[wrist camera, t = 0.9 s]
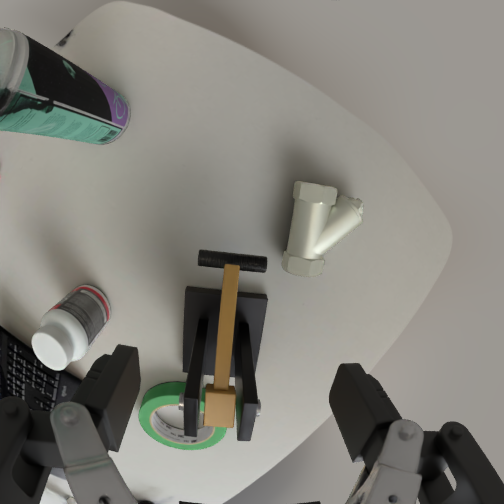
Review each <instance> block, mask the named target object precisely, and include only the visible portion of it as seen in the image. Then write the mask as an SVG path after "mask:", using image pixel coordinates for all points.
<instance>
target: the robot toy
mask: <svg viewBox="0 0 504 504" xmlns="http://www.w3.org/2000/svg"><path fill="white" fill-rule="evenodd" d="M67 504H77V503H76V500H75V499H74V498H72V497H69V499H67Z"/></svg>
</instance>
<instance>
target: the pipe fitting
mask: <svg viewBox="0 0 504 504" xmlns="http://www.w3.org/2000/svg"><path fill="white" fill-rule="evenodd" d="M337 191H338V190H337V189H336V188H335V187H330V186H325V185H320V184H314V183H308V182H302V181H296V182H295V185H294V191H293V198H294V199H295V204H294V210H293V216H292V222H291V228H290V234H289V240H288V246H287V250H285V251H284V253H283V258H282V267H283V269H284V270H285V271H287V272H289V273H291V274H294V275H298V276H303V277H316V276H319V275H321V274H322V271H323V266H324V261H325V260H324V259H323V257H322V256H323V255H324V254H325V253H326V252H328V251H329V250H330V249H331V248H333V247H334V246H335V245H336V244H338V243H339V242H340V241H341V240H343V239H344V238H345V237H346V236H348V235H349V234H350V233H351V232H352V231H354V230H355V229H356V228H357V227H359V226H360V225H361V224H362V223H363V219H362V216H361V215H362V214H363V209H362V207H363V206H364V204H363V202H362V201H361V200H360V199H359V198H357V199H354V198H349V199H348V198H347V197H345V196H342V195H341V196H339V197H338V198H337V199H336V197H337Z"/></svg>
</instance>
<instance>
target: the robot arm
mask: <svg viewBox="0 0 504 504" xmlns="http://www.w3.org/2000/svg"><path fill="white" fill-rule="evenodd" d="M140 382H141V377H140V367H139V356H138V349H137V347H131V346H126V345H121V344H118V345H117V347H116V348H115V350H114V352H113V353H112V355H107V354H104V355H103V356H101V357H100V358H98V359H97V360H95V362H94V363H93V365H92V367H91V368H90V370H89V371H88V373H87V375H86V377H85V378H84V379H83V381H82V383H81V384H80V386H79V388H78V389H77V391H76V393H75V394H74V396H73V398H72V399H71V401H70V402H64V403H61V404H59V405H57V406H56V407H54V408H53V410H52V411H51V412H47V411H36V410H30V409H29V407H28V405H27V403H26V402H25V401H24V400H23V399H21V398H19V397H6V398H4V399H2V400H0V504H39V503H40V500H41V497H42V494H43V491H44V488H45V485H46V483H47V480H48V477H49V474H50V472H51V469H52V467H55V468H63V469H64V473H65V476H66V479H67V481H68V484H69V486H70V489H71V491H72V493H73V496H74V498H75V500H76V503H77V504H138V503H137V501H136V499H135V498H134V496H133V495H132V493H131V491H130V490H129V488H128V487H127V485H126V483H125V481H124V480H123V478H122V476H121V475H120V473H119V471H118V469H117V467H116V465H115V464H114V462H113V460H112V458H111V457H109V455H108V451H109V450H111V451H115V452H118V451H119V448H120V445H121V442H122V439H123V436H124V433H125V430H126V427H127V424H128V421H129V418H130V416H131V413H132V410H133V407H134V404H135V402H136V399H137V396H138V393H139V390H140ZM387 396H388V395H387V394H386V392H385V391H383V388H382V386H381V385H380V383H379V382H378V380H376V379H375V378H373V377H372V376H371V375H370V374H366V373H365V371H364V370H363V368H362V366H361V365H360V364H359V363H343V364H340V366H339V367H338V370H337V373H336V376H335V379H334V382H333V384H332V387H331V390H330V393H329V403H330V407H331V409H332V412H333V414H334V417H335V419H336V422H337V424H338V427H339V429H340V431H341V434H342V437H343V439H344V442H345V444H346V447H347V449H348V452H349V454H350V457H351V459H352V462H353V463H354V462H360V461H364V463H365V466H364V468H363V469H362V471H361V473H360V475H359V478H358V480H357V482H356V484H355V486H354V488H353V490H352V492H351V494H350V496H349V498H348V500H347V502H346V503H345V504H416V500H417V497H418V499H419V502H420V504H504V484H503V482H502V480H501V479H500V477H499V476H498V474H497V472H496V471H495V469H494V468H493V466H492V465H491V463H490V462H489V460H488V459H487V457H486V455H485V454H484V453H483V451H482V450H481V448H480V447H479V445H478V444H477V442H476V441H475V439H474V438H473V436H472V435H471V433H470V432H469V431H468V429H467V428H466V427H465V426H464V425H462V424H460V423H458V422H447V423H445V424H444V425H443V426H442V428H441V429H440V431H437V432H436V431H423V430H422V428H421V427H420V426H419V425H418V424H417V423H415V422H413V421H411V420H406V419H402V417H401V416H400V414H399V413H398V411H397V409H396V408H395V406H394V405H393V403H392V402H391V400H390V398H389V397H387ZM447 467H449V469H450V470H451V472H452V474H453V476H454V478H455V480H456V483H457V486H456V489H455V491H454V490H453V488H452V486H451V484H450V482H449V480H448V479H447V477H446V475H445V473H444V471H445V469H446V468H447ZM179 504H200V503H191V502H182V501H179ZM299 504H320V501H317V502H309V503H299Z"/></svg>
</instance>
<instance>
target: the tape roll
mask: <svg viewBox="0 0 504 504" xmlns="http://www.w3.org/2000/svg"><path fill="white" fill-rule="evenodd" d="M185 386H186V383H183V382H169V383H163V384H160V385H157V386H155V387H153V388H151V389H150V390H149V391H148V392H147V393H146V394H145V396H144V398H143V401H142V404H141V407H140V410H139V421H140V424H141V426H142V428H143V429H144V431H145V432H146V433H147V434H148V435H149V436H151V437H152V438H153V439H155V440H156V441H158V442H160V443H162V444H164V445H167V446H170V447H173V448H177V449H183V450H198V449H204V448H207V447H210V446H213V445H215V444H216V443H218V442H219V441H220V440H221V439H222V438H223V437H224V435H225V433H226V428H225V427H213V426H205V427H203V428H201V429H198V435H197V437H189V436H184V430H180V429H177V428H174V427H171V426H169V425H167V424H166V423H164V422H163V421H162V420H161V419H160V418H159V417H158V416H157V414H156V411H157V410H159V409H160V408H162V407H166V406H174V405H178V406H179V395H180V393H181V392H182V393H184V392H185ZM205 391H206V389H204V388H202V396H201V405H200V412H201V413H203V414H204V404H205Z"/></svg>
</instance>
